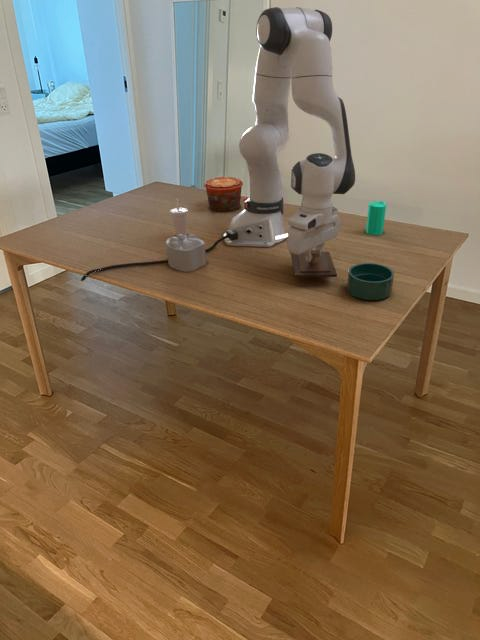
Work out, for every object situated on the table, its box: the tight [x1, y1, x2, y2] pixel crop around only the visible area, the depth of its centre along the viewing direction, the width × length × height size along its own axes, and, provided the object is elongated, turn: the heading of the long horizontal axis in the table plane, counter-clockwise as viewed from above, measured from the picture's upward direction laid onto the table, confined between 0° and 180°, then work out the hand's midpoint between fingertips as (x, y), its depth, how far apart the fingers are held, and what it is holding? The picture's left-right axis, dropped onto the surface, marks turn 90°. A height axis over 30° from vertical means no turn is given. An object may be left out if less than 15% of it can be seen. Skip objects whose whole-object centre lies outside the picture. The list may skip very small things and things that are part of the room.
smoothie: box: [169, 198, 189, 236], centre depth 178 cm, size 6×6×14 cm
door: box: [290, 249, 338, 278], centre depth 147 cm, size 12×16×4 cm
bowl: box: [346, 262, 395, 301], centre depth 139 cm, size 12×12×6 cm
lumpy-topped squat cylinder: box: [165, 233, 207, 273], centre depth 159 cm, size 10×13×9 cm
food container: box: [203, 176, 244, 213], centre depth 204 cm, size 16×16×11 cm
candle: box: [365, 200, 387, 236], centre depth 175 cm, size 6×6×12 cm
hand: (313, 258), depth 147 cm, fingers closed on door, 2 cm apart
